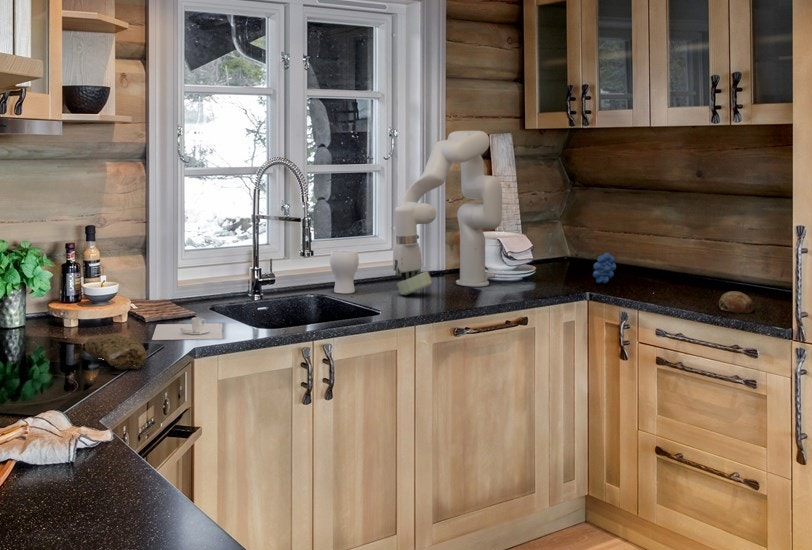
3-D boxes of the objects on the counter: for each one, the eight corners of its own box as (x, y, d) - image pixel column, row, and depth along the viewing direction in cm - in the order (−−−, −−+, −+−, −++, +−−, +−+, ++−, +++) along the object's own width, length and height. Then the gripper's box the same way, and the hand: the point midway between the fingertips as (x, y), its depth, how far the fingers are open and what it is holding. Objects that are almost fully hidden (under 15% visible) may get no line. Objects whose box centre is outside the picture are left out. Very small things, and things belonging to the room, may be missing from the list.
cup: (358, 289, 316) (358, 249, 316) (358, 294, 306) (358, 253, 306) (330, 289, 317) (330, 249, 317) (329, 294, 307) (329, 253, 307)
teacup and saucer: (179, 335, 243) (179, 321, 243) (181, 329, 251) (181, 315, 251) (210, 335, 243) (210, 321, 243) (210, 329, 251) (210, 315, 251)
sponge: (152, 373, 209) (132, 339, 226) (148, 345, 207) (128, 313, 224) (100, 388, 204) (83, 353, 222) (95, 360, 202) (78, 326, 219)
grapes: (606, 280, 333) (606, 250, 333) (620, 283, 327) (620, 252, 327) (584, 283, 328) (585, 252, 328) (598, 285, 322) (598, 254, 322)
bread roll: (716, 318, 280) (708, 297, 278) (737, 303, 283) (729, 282, 281) (741, 324, 270) (734, 303, 269) (763, 309, 273) (755, 287, 272)
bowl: (421, 287, 311) (416, 275, 312) (439, 281, 301) (434, 268, 302) (395, 298, 306) (390, 285, 306) (413, 292, 295) (407, 279, 296)
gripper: (416, 236, 311) (418, 285, 312) (383, 241, 304) (386, 291, 305) (429, 238, 304) (431, 288, 306) (396, 243, 297) (398, 295, 298)
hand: (409, 289), depth 305 cm, fingers closed
